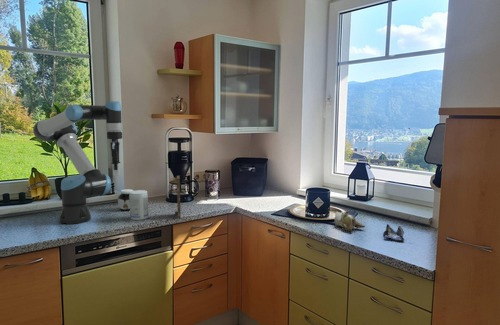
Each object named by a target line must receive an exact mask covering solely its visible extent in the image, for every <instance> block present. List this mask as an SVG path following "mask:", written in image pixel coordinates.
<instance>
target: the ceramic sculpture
mask: <svg viewBox="0 0 500 325" xmlns="http://www.w3.org/2000/svg"><path fill="white" fill-rule="evenodd" d="M334 225H335V226H336V227H342V228H343V229H344V230H346V231H347V232H349V231H353V228H356V229H363V228H365V227H366V226H365V225H362V224H361V222H359V221H357V220H356V217H355V216H354V215H353V214H350V213H349V212H348V211H344V212H343V213H342V212H339V211H337V210H336V211H335V215H334Z"/></svg>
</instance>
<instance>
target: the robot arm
mask: <svg viewBox="0 0 500 325" xmlns="http://www.w3.org/2000/svg"><path fill="white" fill-rule="evenodd" d="M121 104H122V103H121V102H120V101H114V100H113V101H110V100H109V101H108V100H107V101H106V102H105V105H99V104H98V105H96V104H95V105H93V104H91V105H90V104H87V105H86V104H69V105H67V106H66V108H65V110H64V111H62V112H60V113H57V114H56V115H53V116H52V117H49V118H47V119H41V120H38V121H37V122H36V123H35V124H34V125H33V127H32V128H33V129H32V133H33V134H34V136H35V137H36V139H37V140H39V141H42V142H55V144H56V145H57V146H58V147H60V148H62V149H63V151H64V153H65V154H66V155H67V157H68V159H69V160H70V161H71V163H72V165H73V167H74V168H75V169H76V171H77V173H78V174H76V175H70V176H67V177H64V178H63V179H61V182H60V190H61V206H62V208H61V212H60V215H59V223H60V222H61V223H60V224H62V223H66V224H65V225H74V223H77V224H81V223H86V222H89V221H90V220H91V219H92V215H91V212H90V210H89V207H88V205H87V204H88V203H87V199H91V198H95V197H102V196H104V195H107V194H108V193H109V192H110V191H111V188H112V180H111V177H110V176H109V175H108V174H107V173H103V172H102V173H101V171H100V169H98V168H96V167H95V166H94V165H93V163H92V162H91V160H90V159H89V157H88V156H87V154H86V153H85V151H84V150H83V148H82V146H81V145H80V144H79V142H78V140H77V139H78V135H76V134H77V132H78V128H77V126H76V124H77V123H78V122H81V121H94V120H95V121H101V120H102V121H105V120H106V121H105V122H106V123H105V125H106V126H105V127H106V131H107V132H106V138H107V140H111V142H110V151H111V152H110V153H111V165H112V171H113V177H119V176H120V164H121V161H120V141H119V140H121V139H123V132H122V130H123V129H122V128H123V127H124V125H123V124H122V121H123V120H122V105H121ZM78 133H79V132H78Z"/></svg>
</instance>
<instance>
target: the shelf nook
mask: <svg viewBox="0 0 500 325" xmlns="http://www.w3.org/2000/svg"><path fill="white" fill-rule="evenodd" d="M180 176H181V175H176V176H175V177H170V178H169V179H170V181H169V182H170V184H176V194H177V196H176V198H177V202H176V203H177V205H176V206H177V211H174V219H175V220H177V219H181V218H182V217H181V215H182V214H181V178H180Z"/></svg>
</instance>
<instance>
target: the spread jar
mask: <svg viewBox="0 0 500 325" xmlns="http://www.w3.org/2000/svg"><path fill="white" fill-rule="evenodd" d="M131 191H134V190H133V189H131V188H127V189H121V190H120V194H119V195H118V197H117V205H118V209H119V210H121V211H123V212H128V211H129V212H130V201H129V192H131Z"/></svg>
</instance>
